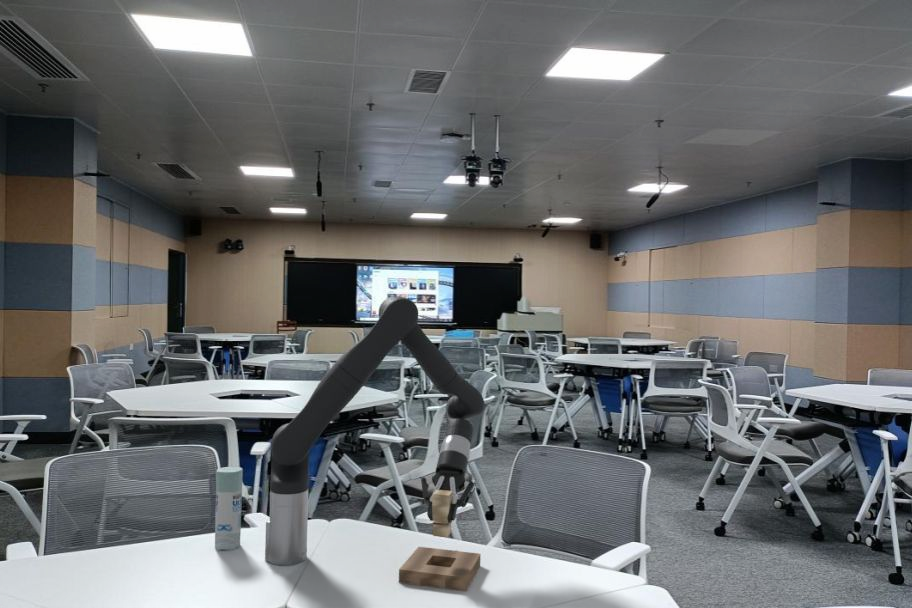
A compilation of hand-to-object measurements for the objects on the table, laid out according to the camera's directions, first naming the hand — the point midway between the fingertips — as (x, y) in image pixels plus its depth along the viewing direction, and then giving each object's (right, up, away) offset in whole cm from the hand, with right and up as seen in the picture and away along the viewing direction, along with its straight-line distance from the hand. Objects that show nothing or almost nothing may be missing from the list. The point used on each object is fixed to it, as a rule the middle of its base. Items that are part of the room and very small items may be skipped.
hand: (440, 519), depth 152 cm
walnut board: (0, -13, +2) cm, 14 cm away
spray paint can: (-56, -13, +16) cm, 60 cm away
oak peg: (0, -4, +2) cm, 5 cm away
